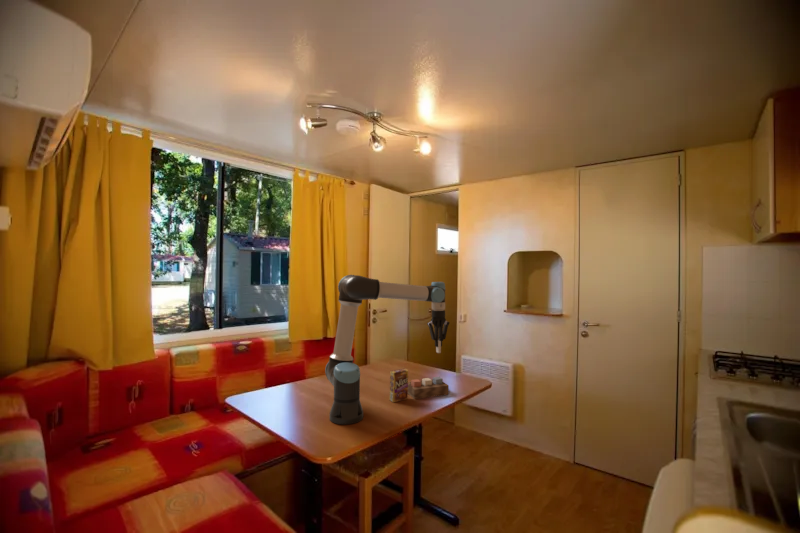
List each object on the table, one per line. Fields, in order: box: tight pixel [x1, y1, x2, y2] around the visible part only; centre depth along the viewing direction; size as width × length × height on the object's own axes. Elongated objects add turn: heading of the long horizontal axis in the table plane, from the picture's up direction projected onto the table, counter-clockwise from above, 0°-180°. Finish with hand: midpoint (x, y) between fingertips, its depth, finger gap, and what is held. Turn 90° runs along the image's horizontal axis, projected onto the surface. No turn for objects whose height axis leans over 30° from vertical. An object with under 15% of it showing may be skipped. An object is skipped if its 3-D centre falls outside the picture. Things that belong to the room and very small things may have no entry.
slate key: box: [432, 376, 444, 384], centre depth 195 cm, size 4×4×4 cm
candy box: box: [388, 368, 409, 403], centre depth 182 cm, size 9×4×15 cm, turn 123°
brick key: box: [410, 378, 422, 387], centre depth 190 cm, size 4×4×4 cm
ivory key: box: [421, 377, 432, 386], centre depth 192 cm, size 4×4×4 cm
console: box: [408, 378, 449, 400], centre depth 192 cm, size 20×12×5 cm, turn 111°
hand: (438, 352), depth 195 cm, fingers closed
